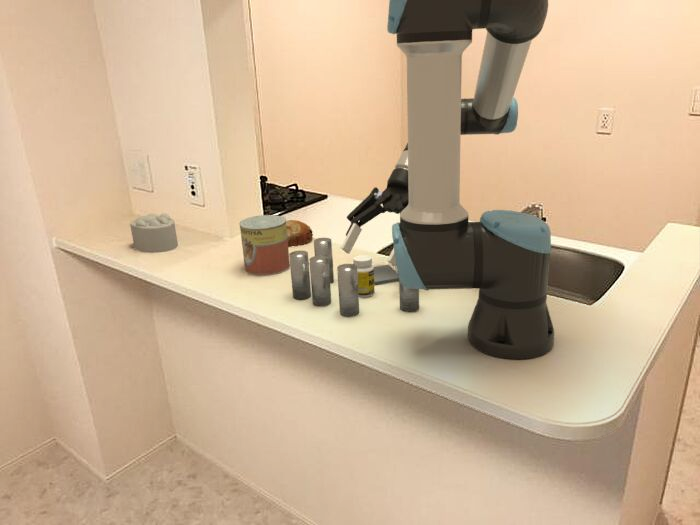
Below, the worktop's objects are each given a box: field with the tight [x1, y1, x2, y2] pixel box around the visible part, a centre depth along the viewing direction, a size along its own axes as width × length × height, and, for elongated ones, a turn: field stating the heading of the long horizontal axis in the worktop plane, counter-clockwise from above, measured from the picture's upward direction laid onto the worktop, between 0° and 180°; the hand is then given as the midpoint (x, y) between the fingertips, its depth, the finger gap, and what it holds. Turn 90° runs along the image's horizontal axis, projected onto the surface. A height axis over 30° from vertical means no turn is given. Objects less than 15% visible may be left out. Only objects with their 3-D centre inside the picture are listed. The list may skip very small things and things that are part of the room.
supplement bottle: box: [352, 254, 375, 298], centre depth 130 cm, size 5×5×8 cm
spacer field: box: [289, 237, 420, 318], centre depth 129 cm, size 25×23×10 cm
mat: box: [373, 264, 399, 286], centre depth 140 cm, size 9×9×1 cm
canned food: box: [238, 214, 291, 277], centre depth 147 cm, size 11×11×12 cm
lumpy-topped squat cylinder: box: [129, 213, 179, 254], centre depth 168 cm, size 10×13×9 cm
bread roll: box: [286, 219, 314, 248], centre depth 167 cm, size 10×10×8 cm
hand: (367, 257), depth 131 cm, fingers open, 13 cm apart
